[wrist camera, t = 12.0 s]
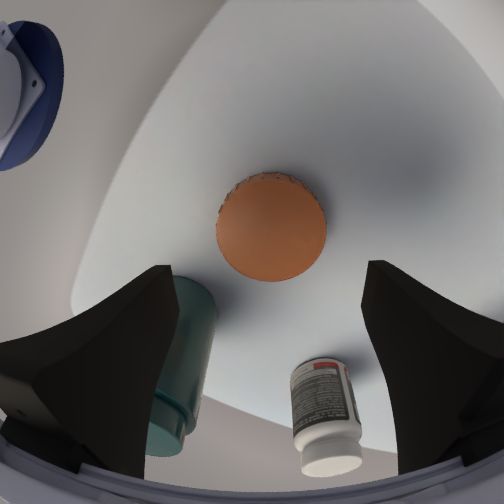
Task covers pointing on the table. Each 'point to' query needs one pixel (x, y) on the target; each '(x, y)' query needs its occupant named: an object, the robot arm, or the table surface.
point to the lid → (271, 227)
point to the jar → (183, 371)
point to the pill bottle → (325, 418)
